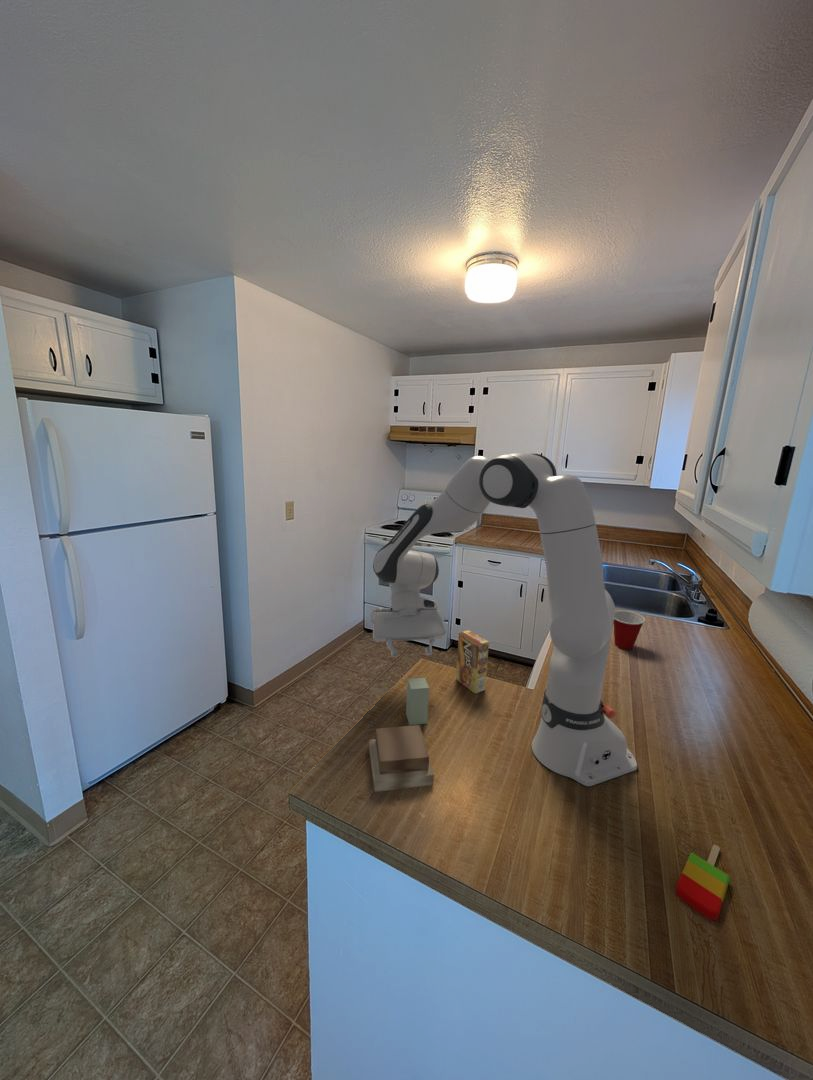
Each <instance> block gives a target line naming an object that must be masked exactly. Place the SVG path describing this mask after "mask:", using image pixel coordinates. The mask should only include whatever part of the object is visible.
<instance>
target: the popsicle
mask: <svg viewBox="0 0 813 1080" xmlns="http://www.w3.org/2000/svg"><path fill="white" fill-rule="evenodd" d="M720 850H721V847H719V846H718V845H716V844H712V847H711V850H710V853H709V856H708V858H707V859H706V860H705V859H703V858H701V857H700V856H699V855H697V854H695V853H694V852H690V853H689V856H688V858H687V861H686V862H685V865H684V868H683V870H682V871H681V874H680V877H679V879H678V881H677V884H676V886H675V887H676V888H675V892H676V895H677V897H678V898H679V899H680V900H682V901H683V902H684V903H685V904H687V905H689V906H690V908H693V910H695V911H696V912H697V913H700V914H701V915H702V916H703V917H705V918H706V919H708V920H711V921H716V920H718V918H719V915H720V912H721V909H722V905H723V903H724V899H725V896H726V893H727V890H728V886H729V884H730V883H729V882H730V875H729V874H727V873H725V872H724V871H722V870H721V869H719V868H718V867H716V866H715V864H716V862H717V858H718V856H719V853H720Z"/></svg>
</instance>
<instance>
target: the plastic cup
mask: <svg viewBox="0 0 813 1080" xmlns="http://www.w3.org/2000/svg"><path fill="white" fill-rule="evenodd" d="M645 622H646V618H645V617H644V616H643V615H642V614H639V613H637V612H633V611H629V610H615V618H614V623H613V635H614V636H613V637H614V646H615V645H616V646H618V647H619V649H621V648H622V649H621V650H624V649H627V650H626V651H631V650H632V649H633V647H634V646H635V644H636V642H637V639H638V636H639V634H640V631H641V629H642V626H643V625H644V623H645ZM616 646H615V647H616ZM618 647H617V648H618ZM630 649H631V650H630Z"/></svg>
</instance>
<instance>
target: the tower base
mask: <svg viewBox="0 0 813 1080" xmlns="http://www.w3.org/2000/svg"><path fill="white" fill-rule="evenodd" d="M368 753H369V761H370V767H371V774H372V782H373V789H374V793H375V792H384V791H385V792H386V791H393V790H402V789H408V788H418V787H425V786H426V787H427V786H433V785H434V777H435V774H434V771H433V768H432V765H431V762H430V761H429V770H419V771H409V772H399V773H389V774H380V769H379V762H378V754H377V747H376V738H374V739H373V738H372V739H368Z"/></svg>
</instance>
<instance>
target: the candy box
mask: <svg viewBox="0 0 813 1080" xmlns="http://www.w3.org/2000/svg"><path fill="white" fill-rule="evenodd" d="M489 647H490V641H489V640H487V639H485V638H483V637H482V636H480V635H478V634H477V633H474V632H473V631H471V630H469V629H467V630H464V631H461V632H458V640H457V655H456V656H457V658H456V674H455V680H457V681H458V682H459V683H460V684H462V685H463V686H464V687H466V688H467V689H468V690H469V691H471V692H472V693H473V694H475V695H476V694H479V693H481V692H483V691H485V690H486V686H487V685H486V684H487V673H488V660H489V659H488V658H489ZM472 674H473V675H472Z"/></svg>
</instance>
